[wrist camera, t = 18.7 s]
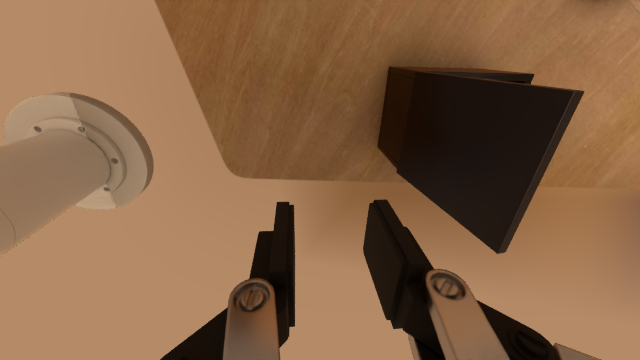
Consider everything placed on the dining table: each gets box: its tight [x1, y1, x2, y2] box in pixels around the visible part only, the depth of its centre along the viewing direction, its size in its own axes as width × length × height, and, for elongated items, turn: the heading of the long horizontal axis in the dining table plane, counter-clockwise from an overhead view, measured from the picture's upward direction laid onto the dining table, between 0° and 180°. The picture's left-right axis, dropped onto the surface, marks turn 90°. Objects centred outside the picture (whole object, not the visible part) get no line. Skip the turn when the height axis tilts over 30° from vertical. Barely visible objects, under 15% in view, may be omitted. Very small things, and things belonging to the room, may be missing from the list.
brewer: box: [378, 66, 534, 169], centre depth 33 cm, size 14×12×9 cm
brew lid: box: [397, 71, 584, 254], centre depth 22 cm, size 14×12×1 cm
